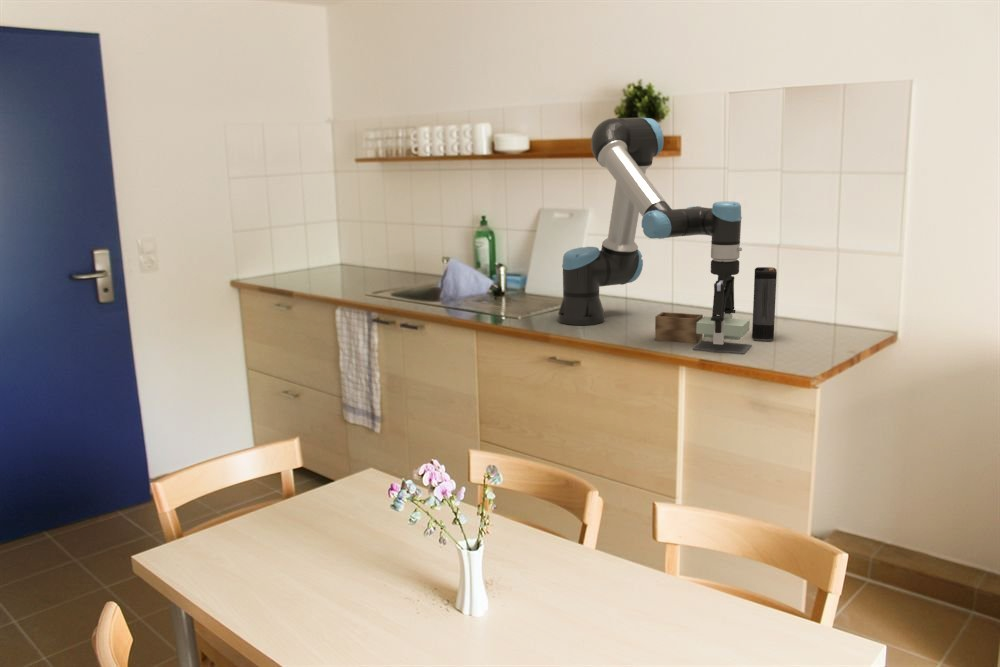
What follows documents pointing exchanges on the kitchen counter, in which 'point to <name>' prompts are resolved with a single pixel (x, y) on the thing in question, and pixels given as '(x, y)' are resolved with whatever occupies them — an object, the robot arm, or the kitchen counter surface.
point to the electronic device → (764, 304)
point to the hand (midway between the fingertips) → (722, 339)
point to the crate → (677, 327)
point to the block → (731, 327)
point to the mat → (722, 347)
